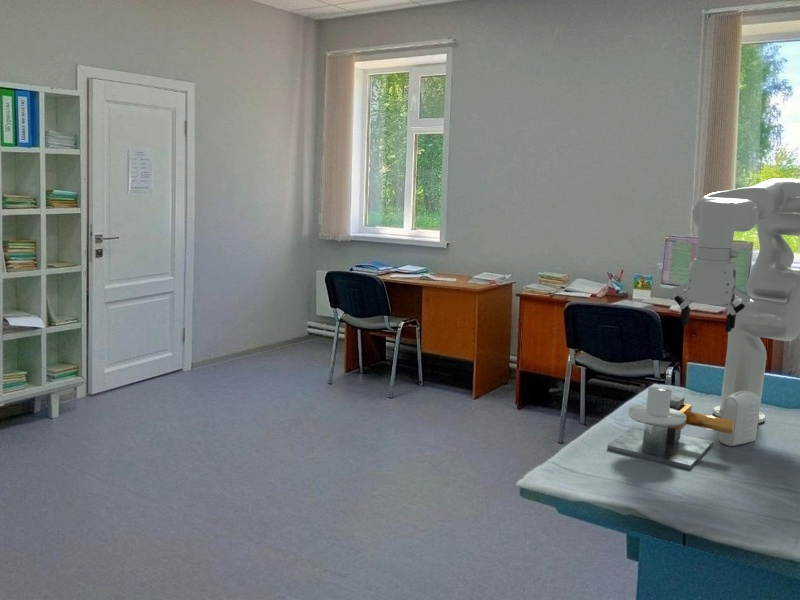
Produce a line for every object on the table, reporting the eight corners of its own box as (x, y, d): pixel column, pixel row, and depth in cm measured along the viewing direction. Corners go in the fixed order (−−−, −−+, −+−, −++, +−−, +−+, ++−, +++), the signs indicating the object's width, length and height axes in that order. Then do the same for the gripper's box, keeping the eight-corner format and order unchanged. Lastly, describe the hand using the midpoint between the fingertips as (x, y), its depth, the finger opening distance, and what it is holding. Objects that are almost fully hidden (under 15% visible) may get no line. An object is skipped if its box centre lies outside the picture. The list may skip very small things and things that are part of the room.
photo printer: (741, 435, 183) (747, 386, 181) (758, 441, 180) (764, 391, 178) (716, 442, 177) (722, 391, 175) (732, 448, 174) (739, 396, 172)
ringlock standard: (635, 427, 185) (641, 368, 183) (734, 450, 172) (742, 387, 170) (604, 451, 167) (610, 386, 165) (711, 478, 154) (720, 408, 152)
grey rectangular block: (662, 434, 178) (666, 393, 176) (679, 438, 176) (684, 396, 174) (656, 439, 174) (660, 397, 172) (674, 443, 172) (678, 401, 170)
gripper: (758, 256, 170) (750, 330, 173) (679, 250, 180) (673, 320, 183) (751, 260, 164) (742, 336, 167) (670, 253, 174) (664, 325, 177)
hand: (706, 327), depth 175 cm, fingers open, 9 cm apart
